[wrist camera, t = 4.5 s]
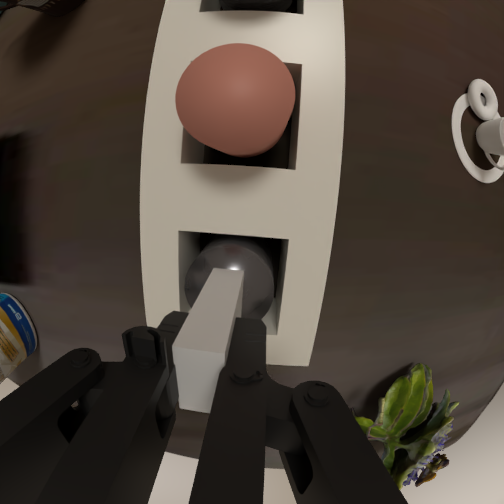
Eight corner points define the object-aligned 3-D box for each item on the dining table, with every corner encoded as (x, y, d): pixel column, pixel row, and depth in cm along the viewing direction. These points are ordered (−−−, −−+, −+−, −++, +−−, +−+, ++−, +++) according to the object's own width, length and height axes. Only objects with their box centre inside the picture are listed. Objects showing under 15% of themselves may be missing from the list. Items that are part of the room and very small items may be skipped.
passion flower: (393, 383, 30) (398, 476, 21) (312, 389, 27) (312, 499, 19) (467, 349, 20) (479, 469, 12) (385, 357, 17) (391, 521, 9)
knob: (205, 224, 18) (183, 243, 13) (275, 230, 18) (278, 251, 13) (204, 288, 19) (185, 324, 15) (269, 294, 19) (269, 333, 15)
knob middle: (207, 80, 13) (182, 45, 9) (288, 83, 13) (297, 46, 8) (200, 155, 15) (170, 149, 10) (283, 160, 14) (291, 154, 10)
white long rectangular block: (199, -23, 13) (184, -57, 8) (325, -18, 13) (336, -54, 8) (172, 312, 21) (150, 348, 16) (300, 325, 21) (308, 366, 16)
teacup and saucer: (460, 70, 14) (487, 59, 10) (512, 125, 15) (539, 123, 11) (437, 147, 16) (468, 145, 13) (491, 199, 17) (521, 206, 13)
